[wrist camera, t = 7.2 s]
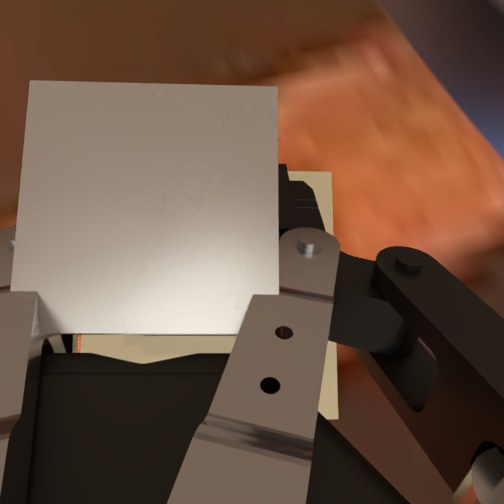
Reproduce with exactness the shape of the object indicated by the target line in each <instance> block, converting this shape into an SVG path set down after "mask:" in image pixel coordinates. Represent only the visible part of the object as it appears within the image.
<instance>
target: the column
mask: <svg viewBox="0 0 504 504" xmlns="http://www.w3.org/2000/svg"><path fill="white" fill-rule="evenodd" d="M10 291H37V296H38V304H39V312H40V321H41V329H42V333H57V335H238V333H239V330H240V327H241V325H242V322H243V319H244V317H245V314H246V312H247V309H248V306H249V304H250V301H251V298H252V296H253V294H263V295H279V221H278V87H274V86H234V85H194V84H154V83H114V82H74V81H34V80H30V85H29V96H28V107H27V117H26V128H25V139H24V149H23V160H22V171H21V182H20V192H19V203H18V214H17V224H16V235H15V246H14V257H13V267H12V278H11V289H10Z"/></svg>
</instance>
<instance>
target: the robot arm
mask: <svg viewBox="0 0 504 504" xmlns="http://www.w3.org/2000/svg"><path fill="white" fill-rule="evenodd" d="M278 221H279V295H263V294H253V296H252V298H251V301H250V304H249V306H248V309H247V312H246V314H245V317H244V319H243V322H242V325H241V327H240V330H239V333H238V335H237V338H236V341H235V343H234V346H233V349H232V351H231V353H196V354H191V355H186V356H181V357H176V358H171V359H166V360H161V361H156V362H151V363H145V364H140V363H135V362H130V361H126V360H121V359H117V358H112V357H108V356H103V355H99V354H94V353H77V337H78V335H57V333H42V329H41V321H40V312H39V304H38V296H37V291H10V289H11V278H12V267H13V257H14V246H15V235H16V225H14V226H11V227H7V228H5V229H2V230H0V504H410V503H409V502H408V501H407V500H406V499H405V498H404V497H403V496H402V495H401V494H400V493H399V492H398V491H397V490H396V489H395V488H394V487H393V486H392V485H391V484H390V483H389V482H388V481H387V480H386V479H385V478H384V477H383V476H382V475H381V474H380V473H379V472H378V471H377V470H376V469H375V468H374V467H373V466H372V465H371V464H370V463H369V462H368V461H367V460H366V459H365V458H364V457H363V456H362V455H361V454H360V453H359V452H358V450H357V449H356V448H355V447H354V446H353V445H352V444H351V443H350V442H349V441H348V440H347V439H346V438H345V437H344V436H343V435H342V434H341V433H340V432H339V431H338V430H337V429H336V428H335V427H334V426H333V425H332V424H331V423H330V422H329V421H328V420H327V419H326V418H325V417H324V416H323V415H322V414H321V413H320V412H319V411H318V406H319V399H320V392H321V385H322V378H323V371H324V365H325V358H326V351H327V344H328V341H331V342H335V343H339V344H343V345H347V346H350V347H354V348H355V352H356V354H357V356H358V358H359V359H360V361H361V362H362V364H363V365H364V366H365V368H366V369H367V371H368V372H369V373H370V375H371V376H372V378H373V379H374V381H375V382H376V383H377V385H378V386H379V388H380V389H381V391H382V392H383V393H384V395H385V396H386V398H387V399H388V400H389V402H390V403H391V405H392V406H393V408H394V409H395V410H396V412H397V413H398V415H399V416H400V418H401V419H402V420H403V422H404V423H405V425H406V426H407V428H408V429H409V430H410V432H411V433H412V435H413V436H414V437H415V439H416V440H417V442H418V443H419V445H420V446H421V447H422V449H423V450H424V452H425V453H426V455H427V456H428V457H429V459H430V460H431V462H432V463H433V465H434V466H435V467H436V469H437V470H438V472H439V473H440V474H441V476H442V477H443V479H444V480H445V482H446V483H447V484H448V486H449V487H450V489H451V490H452V492H453V493H454V494H453V497H452V499H451V504H504V319H503V318H502V317H501V316H500V315H498V314H497V313H496V312H495V311H494V310H493V309H491V308H490V307H489V306H488V305H487V304H486V303H485V302H483V301H482V300H481V299H480V298H479V297H478V296H477V295H475V294H474V293H473V292H472V291H471V290H470V289H468V288H467V287H466V286H465V285H464V284H463V283H462V282H460V281H459V280H458V279H457V278H456V277H455V276H454V275H452V274H451V273H450V272H449V271H448V270H447V269H446V268H444V267H443V266H442V265H441V264H440V263H439V262H437V261H436V260H435V259H434V258H433V257H431V256H430V255H428V254H426V253H424V252H422V251H420V250H417V249H414V248H410V247H403V246H394V247H388V248H385V249H383V250H381V251H380V252H379V253H378V254H377V257H376V261H372V260H367V259H362V258H358V257H354V256H351V255H348V254H346V253H344V252H342V251H340V244H339V242H338V240H337V239H336V238H335V237H334V236H333V235H331V234H329V233H328V232H326V230H325V227H324V223H323V220H322V217H321V214H320V210H319V209H318V204H317V201H316V197H315V194H314V191H313V189H312V188H311V187H310V186H309V185H308V184H306V183H305V182H304V181H291V180H289V176H288V171H287V166H286V164H278ZM418 337H420V338H421V339H422V341H423V342H424V343H425V344H426V345H427V346H428V347H429V348H430V350H431V351H432V352H433V354H434V355H435V357H436V360H437V361H436V360H435V359H434V358H433V357H432V355H431V354H430V353H429V352H428V351H427V350H426V349H425V348H424V346H423V345H422V344H421V343H420V342H419V341H418Z"/></svg>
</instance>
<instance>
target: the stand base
mask: <svg viewBox="0 0 504 504" xmlns="http://www.w3.org/2000/svg"><path fill="white" fill-rule="evenodd" d="M288 176H289V180H291V181H304V182H305V183H306V184H308V185H309V186H310V187H311V188H312V189H313V191H314V194H315V197H316V201H317V204H318V209H319V210H320V214H321V217H322V220H323V223H324V227H325V230H326V232H328V233H329V234H331V235H333V204H332V172H316V171H288ZM236 338H237V335H82V337H81V352H80V353H94V354H99V355H103V356H108V357H112V358H117V359H121V360H126V361H130V362H135V363H140V364H145V363H151V362H156V361H161V360H166V359H171V358H176V357H181V356H186V355H191V354H196V353H231V351H232V349H233V346H234V343H235V341H236ZM318 411H319V412H320V413H321V414H322V415H323V416H324V417H325V418H326V419H338V389H337V352H336V343H335V342H331V341H328V344H327V351H326V358H325V365H324V371H323V378H322V385H321V392H320V399H319V406H318Z"/></svg>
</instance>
